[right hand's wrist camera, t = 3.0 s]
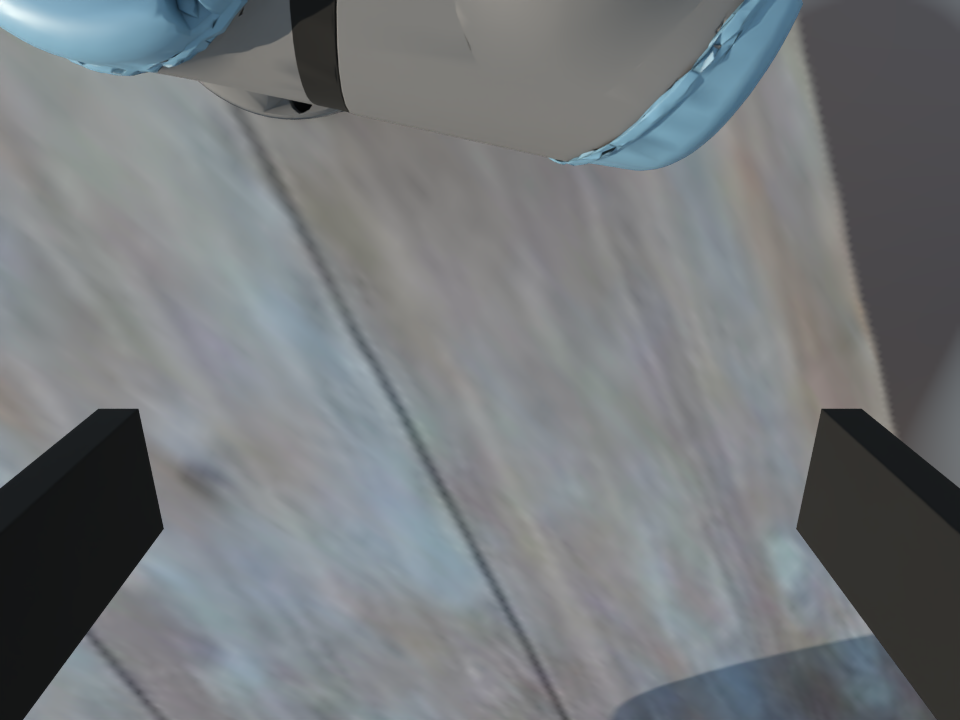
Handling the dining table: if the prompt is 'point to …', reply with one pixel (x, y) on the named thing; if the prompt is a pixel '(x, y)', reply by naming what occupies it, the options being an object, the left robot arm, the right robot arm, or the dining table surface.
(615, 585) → the dining table surface
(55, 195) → the dining table surface
